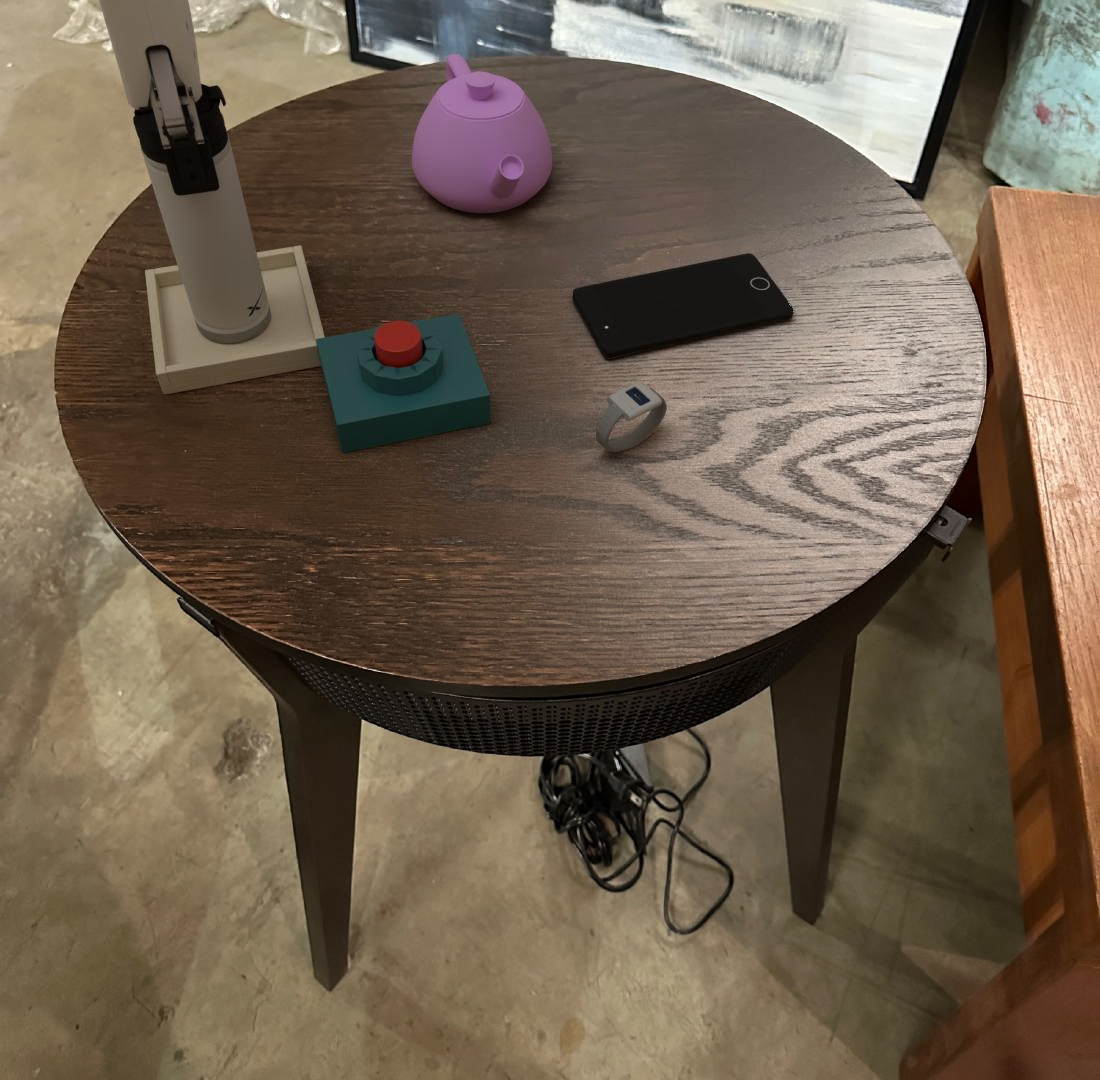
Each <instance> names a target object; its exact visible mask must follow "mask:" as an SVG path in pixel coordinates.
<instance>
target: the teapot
mask: <svg viewBox="0 0 1100 1080" xmlns="http://www.w3.org/2000/svg"><path fill="white" fill-rule="evenodd" d="M445 69H446V70H445V71H446V79H447V81H446V82H445V83H444V84H442V85H441V86H440V87H439V88H438V90H437V91H436V92H435V94H434V95H433V96H432V98H431V100H430V102H429V103H428V105H427V107H426V108H425V110H424V112H423V113H422V115H421V117H420V120H419V122H418V124H417V127H416V130H415V132H414V137H413V141H412V150H411V151H412V152H411V166H412V172H413V174H414V176H415V178H416V180H417V181H418V183H419V185H420V186H421V187H422V188H423V189H424V190H425V192H427V193H428V194H429V195H430V196H432V197H433V198H434V199H436V200H437V201H438V202H439V203H441V204H443V205H444V206H446V207H449V208H451V209H454V210H457V211H460V212H464V213H471V214H493V213H501V212H505V211H509V210H512V209H515V208H517V207H519V206H521V205H523V204H525V203H526V202H528V201H529V200H530V199H532V198H533V197H534V196H535V195H536V194H537V193H538V192H539V191H540V190H541V189H542V188H543V187H544V186H545V184H547V182H548V180H549V178H550V176H551V173H552V170H553V151H552V146H551V145H552V144H551V141H550V138H549V133H548V130H547V129H546V125H545V123H544V121H543V119H542V117H541V115H540V114H539V112H538V110H537V108H536V107H535V105H534V104H533V103H532V101H531V99H530V98H529V97H528V95H527V94H526V92H525V91H524V90H523V89H522V88H521V86H520V85H518V84H517V83H516V82H515V81H513V80H511V79H509V78H507V77H504V76H500V75H497V74H492V73H490V72H488V71H483V70H482V71H481V70H480V71H479V70H478V71H477V70H476V71H473V72H472V70H471V67H470V66H469V64H468V62H467V60H466V59H465V58H464V57H463V56H462V55H461V54H458V53H451V54H449V55H448V56H447V58H446V61H445Z"/></svg>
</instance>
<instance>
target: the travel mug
mask: <svg viewBox="0 0 1100 1080" xmlns="http://www.w3.org/2000/svg"><path fill="white" fill-rule="evenodd" d="M201 88H202V96H201V97H200V99H199V100H198V101H197V102H195V105H196V109H197V113H198V117H199V121H200V126H201V130H202V134H203V136H207V138H208V141H209V145H210V149H211V153H212V157H213V161H214V165H215V169H216V173H217V177H218V180H219V186H220V187H219V189H218V190H216V191H211V192H204V193H197V194H190V195H183V196H178V195H176V194H175V193H174V191H173V187H172V184H171V180H170V177H169V174H168V170H167V167H166V164H165V160H164V157H163V154H162V150H161V147H160V142H162V141H161V137H160V133H159V130H158V126H157V122H156V118H155V115H154V111H153V107H152V105H151V99H150V96H149V101H148V106H147V107H140V109H139V110H136V109H134V111H133V114H134V116H133V118H132V122H133V126H134V129H135V133H136V135H137V138H138V140H139V141H138V142H139V145H140V151H141V154H142V156H143V160H144V163H145V167H146V169H147V174H148V176H149V179H150V183H151V186H152V188H153V192H154V195H155V199H156V201H157V205H158V208H159V211H160V215H161V218H162V221H163V225H164V227H165V230H166V233H167V237H168V240H169V243H170V246H171V249H172V252H173V255H174V258H175V259H174V260H175V262H176V265H178V268H179V272H180V275H181V278H182V281H183V284H184V287H185V291H186V294H187V297H188V300H189V303H190V306H191V310H192V312H193V316H194V319H195V322H196V325H197V328H198V330H199V331H200V333H201V334H202V335H204V336H205V337H206V338H208V339H210V340H212V341H216V342H220V343H237V342H242V341H246V340H249V339H251V338H253V337H255V336H257V335H258V334H260V333H261V332H262V331H263V330H264V329H265V328H266V327H267V325H268V324H269V322H270V319H271V311H270V307H269V303H268V299H267V294H266V290H265V286H264V282H263V277H262V273H261V269H260V265H259V261H258V257H257V252H258V251H257V248H256V245H255V240H254V237H253V231H252V228H251V227H252V226H251V224H250V220H249V215H248V210H247V207H246V202H245V199H244V193H243V190H242V186H241V182H240V177H239V173H238V169H237V164H236V160H235V156H234V152H233V149H232V144H231V140H230V136H229V132H228V131H227V127H226V123H225V118H224V115H223V113H222V111H221V109H220V105H222V107H226V105H227V102H226V98H225V95H224V93H223V90H222V89H221V87H220V86H219V85H218V84H215V85H211V86H209V85H207V84H204V83H201ZM177 89H178V94H179V95H184V94H186V89H185V85H184V86H177ZM155 92H156V96H157V98H159V96H158V92H157V90H156V91H155ZM182 110H183V114H184V117H185V118H189V120H190V121H191V119H190V115H189V111H188V107H187V105H186V106H182Z"/></svg>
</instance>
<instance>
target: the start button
mask: <svg viewBox="0 0 1100 1080" xmlns="http://www.w3.org/2000/svg"><path fill="white" fill-rule="evenodd" d="M409 322H410V321H405V320H393V321H389V322H386V323H383V324H384V325H382V324H381V325H382V326H381V327H379V328H378V329H377V331H376V333H375V335H374V341H375V348H376V355H377V358H378V360H379V361H380V362H381V363H382V364H384V365H386V366H388V367H394V368H402V367H408V366H411V365H413V364H415V363H416V362H417V361H419V359H420V358H421V356H422V352H423V351H422V340H421V332H420V330H419V329H418V328H417V327H416V326H415V325H414V324H412V323H409Z"/></svg>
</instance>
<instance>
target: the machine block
mask: <svg viewBox="0 0 1100 1080" xmlns="http://www.w3.org/2000/svg"><path fill="white" fill-rule="evenodd" d="M462 319H463V318H462V317H461V315H460V313H453V314H449V315H443V316H437V317H432V318H427V319H420V320H415V321H408V322H409V323H412V324H414V325H415V326H416V327H417V328H418V329H419V330H420V332H421V340H422V351H423V352H422V356H421V358H420V359H419V361H417V362H416V363H415V364H413V365H411V366H408V367H402V368H394V367H388V366H386V365H384V364H382V363H381V362H380V361H379V360H378V358H377V355H376V348H375V341H374V335H375V333H376V331H377V329H378V328H379V327H381V326H382V325H384V324H385V323H383V324H379V325H377V326H376V327H374V328H370V329H365V330H358V331H353V332H348V333H342V334H335V335H331V336H330V335H329V336H325V337H324V338H319V339H316V343H317V348H318V353H319V358H320V363H321V366H320V367H321V371H322V375H323V376H322V377H323V380H324V384H325V387H326V392H327V396H328V400H329V404H330V408H331V412H332V416H333V419H334V425H335V428H336V433H337V437H338V440H339V441H338V442H339V444H340V448H341V449H340V450H341V453H343V454H344V453H349V452H354V451H359V450H364V449H365V450H366V449H370V448H374V447H379V446H384V445H390V444H393V443H399V442H404V441H409V440H413V439H419V438H425V437H429V436H435V435H439V434H444V433H449V432H453V431H458V430H463V429H464V430H465V429H468V428H469V429H470V428H474V427H479V426H485V425H488V424H491V423H492V414H491V413H492V411H491V409H492V407H491V393H490V390H489V388H488V385H487V382H486V381H485V377H484V375H483V372H482V369H481V366H480V365H479V362H478V359H477V357H476V354H475V351H474V348H473V346H472V343H471V341H470V338H469V335H468V333H467V330H466V328H465V325H464V322H463V320H462Z"/></svg>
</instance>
